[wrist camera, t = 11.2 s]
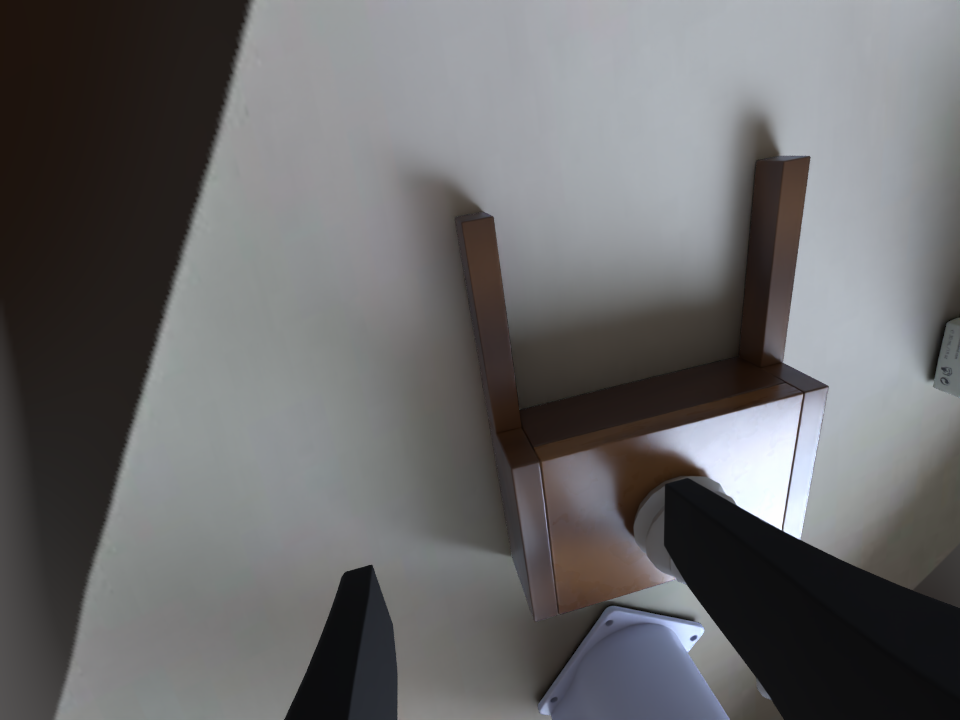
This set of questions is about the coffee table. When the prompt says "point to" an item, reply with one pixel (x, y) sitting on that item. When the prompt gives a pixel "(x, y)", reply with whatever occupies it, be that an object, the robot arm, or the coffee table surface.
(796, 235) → the brown u-shaped piece
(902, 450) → the coffee table surface
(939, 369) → the cosmetic box
